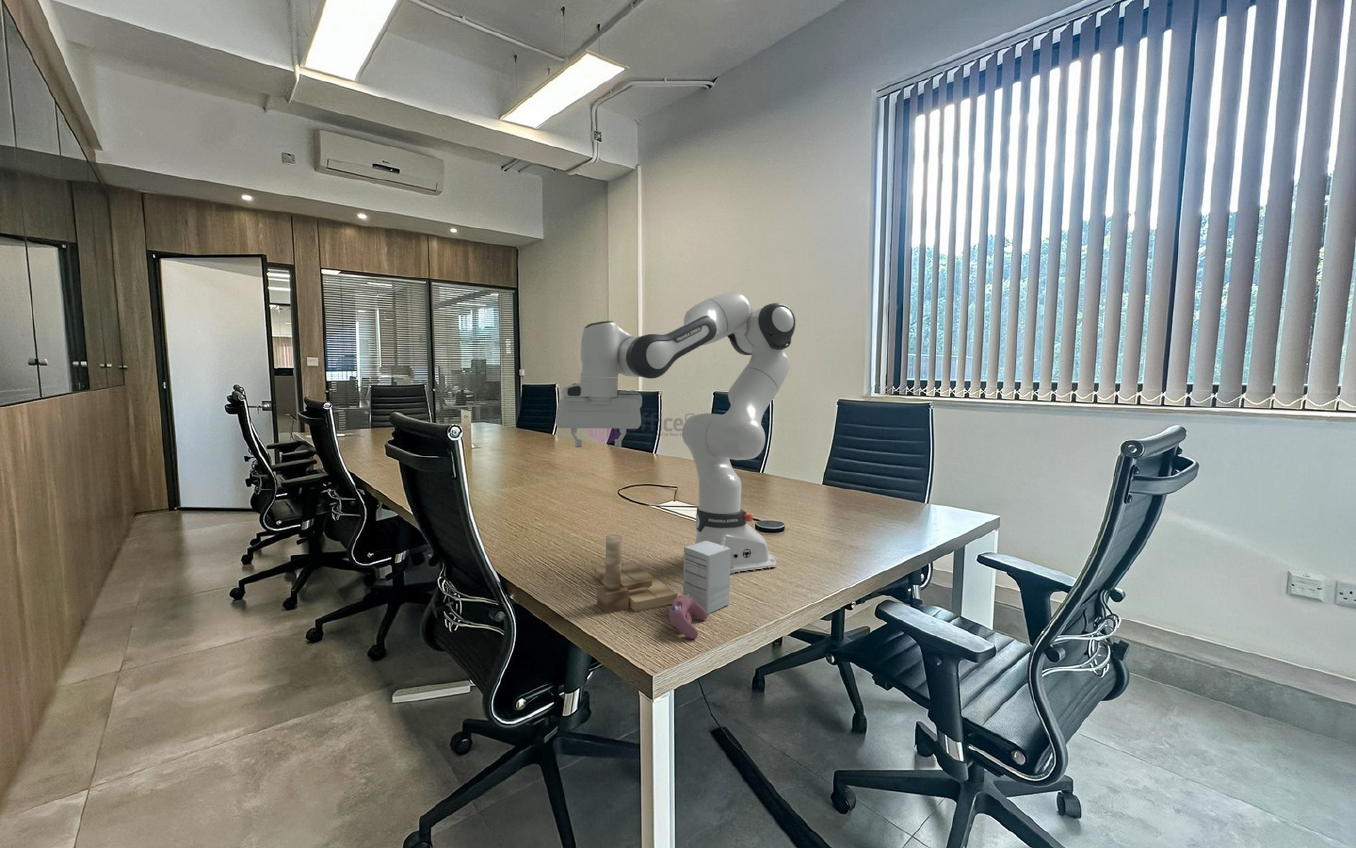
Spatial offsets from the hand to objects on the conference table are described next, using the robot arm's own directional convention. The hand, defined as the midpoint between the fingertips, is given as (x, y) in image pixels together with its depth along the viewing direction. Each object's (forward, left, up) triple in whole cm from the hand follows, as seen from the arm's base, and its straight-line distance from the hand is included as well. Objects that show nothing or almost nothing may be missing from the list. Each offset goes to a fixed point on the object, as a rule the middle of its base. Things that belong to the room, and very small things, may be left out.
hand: (598, 447), depth 131 cm
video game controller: (-16, +32, -31) cm, 48 cm away
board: (-8, +11, -31) cm, 34 cm away
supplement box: (-22, +22, -31) cm, 44 cm away
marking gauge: (-5, +19, -31) cm, 37 cm away
